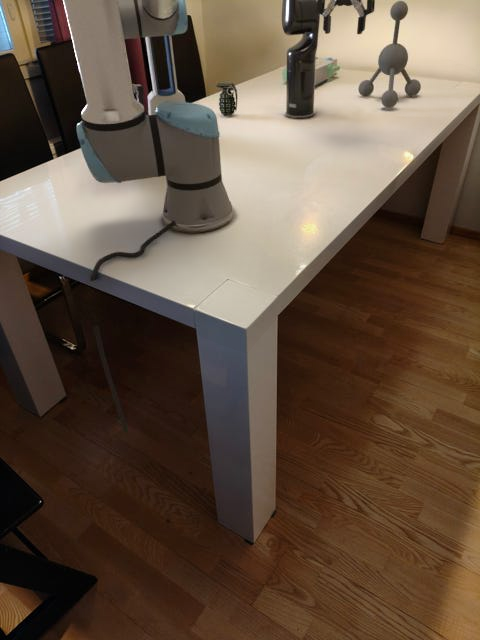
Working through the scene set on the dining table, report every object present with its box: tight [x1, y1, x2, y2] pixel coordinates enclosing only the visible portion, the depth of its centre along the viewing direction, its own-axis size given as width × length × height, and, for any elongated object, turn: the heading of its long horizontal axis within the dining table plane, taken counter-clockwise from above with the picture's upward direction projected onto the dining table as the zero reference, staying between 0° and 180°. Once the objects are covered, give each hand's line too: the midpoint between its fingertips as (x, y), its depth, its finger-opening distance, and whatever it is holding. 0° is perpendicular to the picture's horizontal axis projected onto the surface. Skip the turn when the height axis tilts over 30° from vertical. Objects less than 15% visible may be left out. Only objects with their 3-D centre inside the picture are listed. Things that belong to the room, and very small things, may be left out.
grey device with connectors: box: [282, 56, 341, 85], centre depth 205 cm, size 26×6×20 cm
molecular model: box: [358, 0, 422, 109], centre depth 166 cm, size 24×22×30 cm
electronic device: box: [144, 36, 186, 115], centre depth 146 cm, size 12×8×30 cm, turn 105°
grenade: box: [215, 82, 238, 117], centre depth 166 cm, size 7×6×10 cm
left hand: (128, 155), depth 134 cm, fingers closed on box, 6 cm apart
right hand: (343, 33), depth 125 cm, fingers open, 8 cm apart
